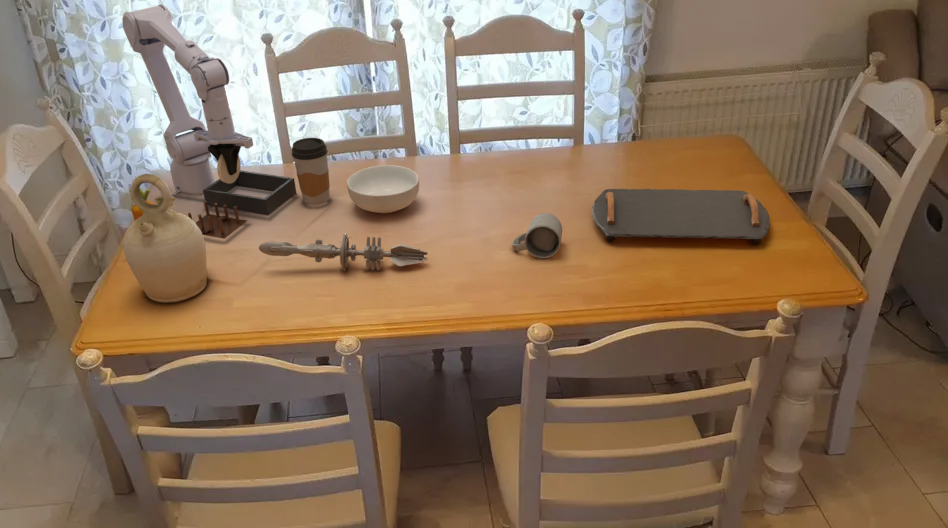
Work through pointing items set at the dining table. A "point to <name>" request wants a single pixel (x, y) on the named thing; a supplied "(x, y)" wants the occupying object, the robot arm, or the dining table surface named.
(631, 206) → the serving tray
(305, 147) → the coffee cup
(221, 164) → the saucer
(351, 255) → the spaceship
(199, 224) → the dish rack
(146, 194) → the carrot
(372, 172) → the cereal bowl
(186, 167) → the robot arm
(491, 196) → the dining table surface
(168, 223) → the jug
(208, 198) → the dark grey open box
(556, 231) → the ceramic mug
